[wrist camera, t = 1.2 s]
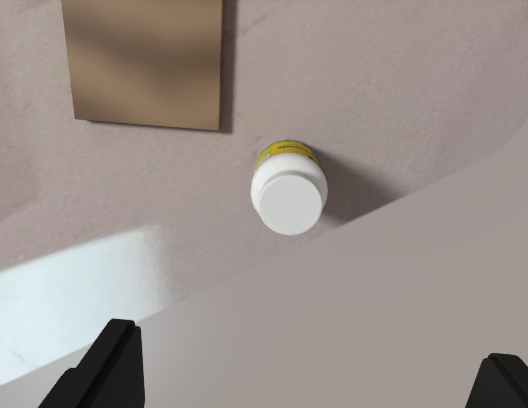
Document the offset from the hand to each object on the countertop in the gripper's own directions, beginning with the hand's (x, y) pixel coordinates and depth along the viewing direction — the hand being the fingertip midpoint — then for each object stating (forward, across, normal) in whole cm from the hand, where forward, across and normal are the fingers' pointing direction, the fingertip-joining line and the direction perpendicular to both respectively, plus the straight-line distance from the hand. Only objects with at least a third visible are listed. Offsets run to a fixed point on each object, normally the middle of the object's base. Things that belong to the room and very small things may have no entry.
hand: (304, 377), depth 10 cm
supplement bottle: (+23, 0, 0) cm, 23 cm away
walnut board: (+22, +12, -9) cm, 27 cm away
